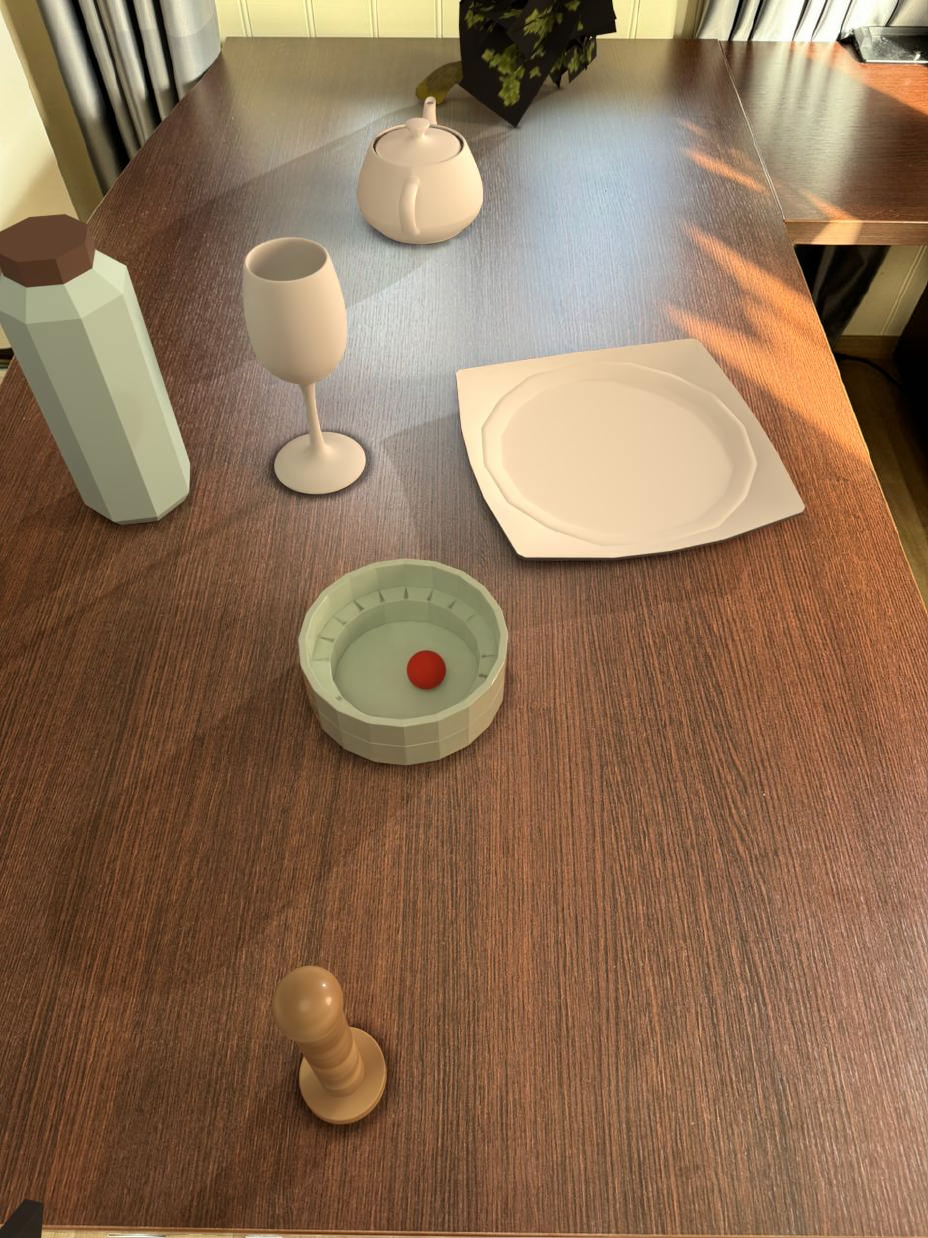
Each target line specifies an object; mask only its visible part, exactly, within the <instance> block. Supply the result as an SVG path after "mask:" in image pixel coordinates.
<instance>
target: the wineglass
mask: <svg viewBox="0 0 928 1238" xmlns="http://www.w3.org/2000/svg"><path fill="white" fill-rule="evenodd" d="M242 304H243V306H242V307H243V316H244V321H245V326H246V331H247V334H248V338H249V341H250V344H251V348H252V350H253V353H254V355H255V356H256V359H257V360H258V361H259V363H260V364H261V365H262V366H263V367H264V368H265V370H266V371H268V372H269V373H270V374H272V376H274V377H276V378H278V379H280V380H281V381H283V382H286V383H288V384H294V385H298V386H299V387H300V391H301V394H302V398H303V401H304V405H305V411H306V416H307V425H308V433H306V434H303V435H300V436H297V437H295V438H294V439H292V440H290V441H289V442H287V443H286V444H285V445H284V446H283V447H282V448H281V449H280V450H279V451H278V453H277V455H276V456H275V459H274V465H273V466H274V467H273V469H274V473H275V475H276V477H277V479H278V480H279V481H280V482H281V483H282V484H283V485H284V486H285V487H287V488H289V490H293V491H295V492H298V493H302V494H306V495H325V494H331V493H334V492H338V491H341V490H343V489H345V488H347V487H349V486H350V485H352V484H353V483H354V482H355V481H356V480H358V478H359V477H360V476H361V475H362V473H363V471H364V470H365V467H366V462H367V458H366V453H365V451H364V449H363V447H362V446H361V445H360V444H359V443H358V442H357V440H355V439H353V438H352V437H349V436H347V435H345V434H342V433H340V432H339V433H338V432H333V431H322V430H321V425H320V419H319V416H318V409H317V401H316V383H318V382H320V381H322V380H323V379H325V378H326V377H328V376H329V375H330V374H331V373H332V372H334V370H335V369H336V368H337V367H338V366H339V364H340V363H341V361H342V359H343V357H344V354H345V352H346V348H347V344H348V319H347V318H348V317H347V311H346V305H345V299H344V295H343V291H342V286H341V284H340V280H339V278H338V274H337V272H336V269H335V266H334V264H333V260H332V257H331V256H330V254H329V252H328V250H327V249H326V248H325V247H324V246H323V245H322V244H320V243H319V242H316V241H314V240H311V239H308V238H304V237H296V236H295V237H292V236H290V237H289V236H288V237H279V238H273V239H270V240H266V241H264V242H262V243H260V244H258V245H256V246H254V247H253V248H252V249H250V250H249V252H248V253H247V254H246V256H245V257H244V260H243V265H242Z"/></svg>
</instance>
